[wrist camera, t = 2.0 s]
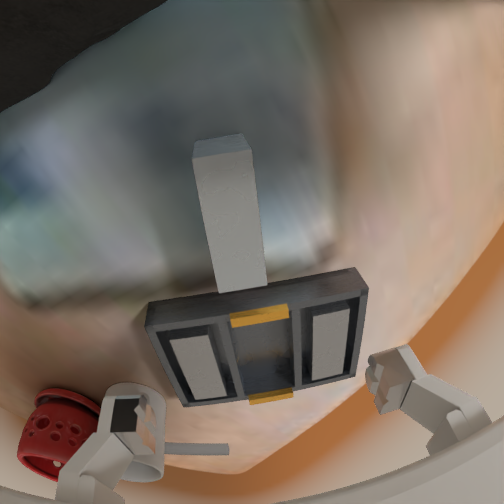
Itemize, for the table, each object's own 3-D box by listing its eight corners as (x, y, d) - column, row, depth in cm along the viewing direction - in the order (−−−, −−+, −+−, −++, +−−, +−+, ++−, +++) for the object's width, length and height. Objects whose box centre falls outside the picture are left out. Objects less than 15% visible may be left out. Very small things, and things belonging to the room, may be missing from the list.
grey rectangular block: (241, 133, 24) (251, 149, 19) (256, 245, 29) (267, 285, 24) (195, 140, 24) (191, 158, 19) (216, 252, 29) (218, 293, 24)
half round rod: (114, 434, 44) (113, 442, 43) (229, 440, 48) (230, 449, 46) (118, 444, 46) (117, 453, 45) (227, 450, 50) (228, 458, 48)
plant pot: (31, 405, 38) (14, 466, 28) (42, 367, 34) (17, 442, 24) (102, 436, 44) (94, 497, 33) (127, 405, 39) (119, 481, 29)
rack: (355, 266, 31) (372, 291, 28) (346, 356, 38) (357, 381, 35) (148, 301, 30) (142, 331, 27) (184, 385, 38) (183, 413, 34)
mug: (158, 420, 42) (156, 486, 32) (102, 406, 39) (92, 472, 30) (181, 376, 37) (180, 456, 27) (113, 358, 34) (97, 438, 25)
